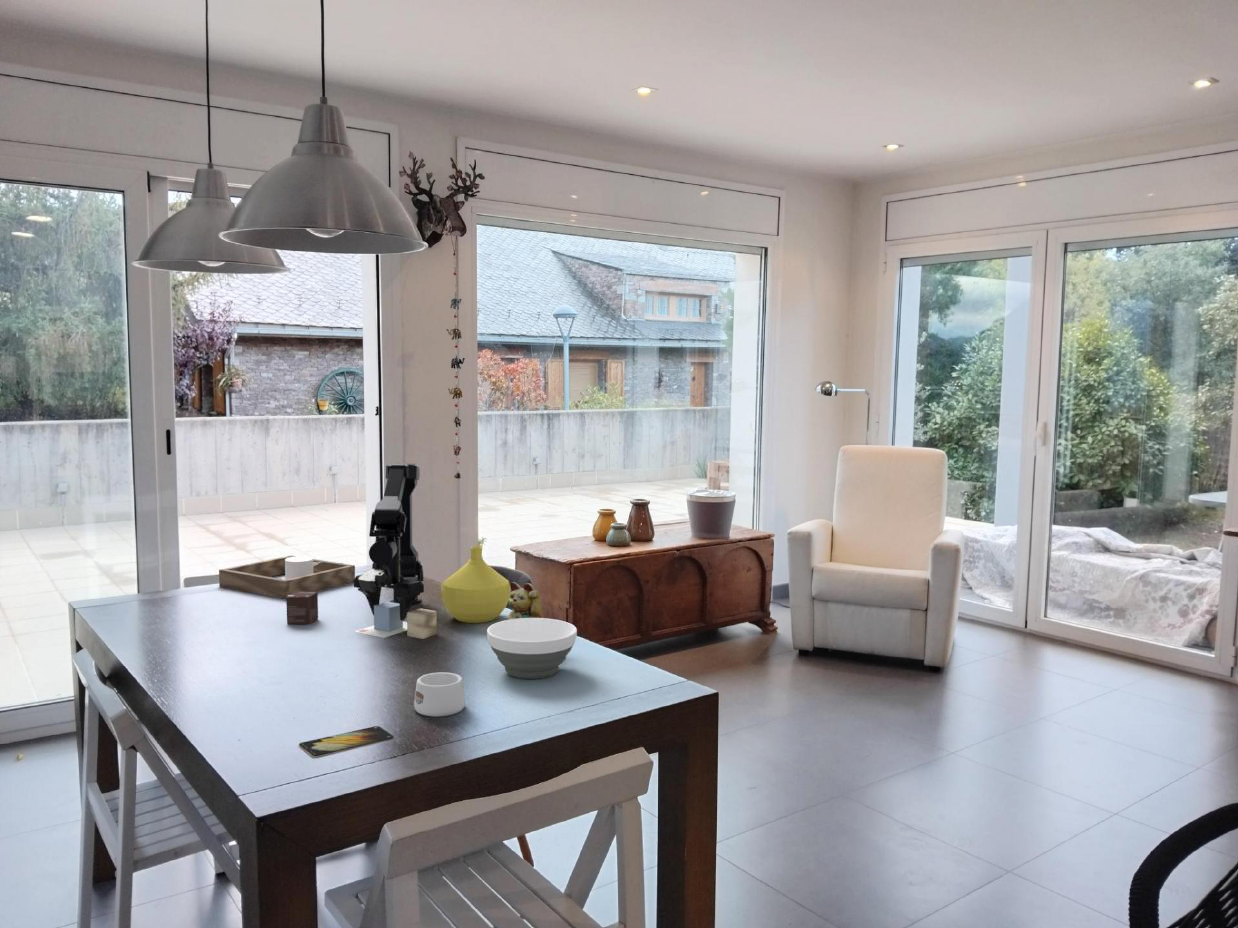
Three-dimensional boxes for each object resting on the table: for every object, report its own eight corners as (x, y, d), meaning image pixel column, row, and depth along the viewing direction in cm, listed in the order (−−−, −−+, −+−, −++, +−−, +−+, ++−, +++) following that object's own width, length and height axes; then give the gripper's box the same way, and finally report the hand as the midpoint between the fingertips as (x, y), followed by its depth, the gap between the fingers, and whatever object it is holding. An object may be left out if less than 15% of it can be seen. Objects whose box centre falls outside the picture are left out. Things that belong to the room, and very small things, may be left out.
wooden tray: (291, 570, 307) (290, 555, 306) (355, 581, 293) (354, 565, 293) (219, 586, 283) (219, 569, 283) (285, 598, 270) (284, 581, 269)
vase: (503, 608, 264) (503, 539, 262) (517, 625, 246) (518, 552, 245) (436, 612, 258) (436, 542, 256) (446, 629, 241) (446, 555, 239)
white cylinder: (345, 585, 290) (345, 559, 289) (286, 595, 275) (286, 568, 274) (310, 575, 303) (310, 550, 302) (252, 584, 288) (252, 558, 288)
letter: (393, 619, 249) (393, 619, 249) (422, 625, 244) (422, 624, 244) (353, 631, 237) (353, 631, 237) (384, 638, 232) (384, 637, 232)
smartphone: (395, 736, 170) (313, 756, 160) (395, 740, 170) (313, 759, 160) (378, 725, 175) (297, 743, 166) (378, 728, 175) (297, 746, 166)
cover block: (420, 631, 239) (420, 608, 238) (436, 634, 236) (436, 611, 236) (407, 636, 234) (407, 612, 234) (423, 639, 232) (423, 615, 231)
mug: (474, 711, 184) (474, 680, 183) (428, 721, 178) (428, 690, 177) (444, 694, 193) (444, 665, 193) (400, 703, 187) (400, 673, 187)
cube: (387, 624, 244) (387, 601, 243) (402, 627, 242) (402, 604, 241) (374, 628, 240) (373, 605, 239) (389, 631, 237) (389, 608, 237)
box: (318, 619, 249) (318, 591, 248) (309, 625, 243) (308, 597, 242) (296, 618, 249) (296, 590, 248) (286, 624, 243) (285, 596, 242)
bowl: (554, 691, 196) (554, 646, 195) (470, 679, 203) (470, 635, 202) (589, 664, 214) (590, 623, 213) (511, 654, 221) (512, 614, 220)
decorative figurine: (500, 643, 229) (500, 582, 228) (518, 635, 237) (518, 576, 235) (535, 649, 225) (535, 586, 224) (552, 640, 233) (553, 580, 231)
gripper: (337, 557, 237) (337, 619, 238) (394, 566, 227) (394, 630, 229) (369, 550, 246) (370, 610, 248) (425, 559, 237) (425, 620, 239)
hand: (388, 617), depth 240 cm, fingers open, 9 cm apart
